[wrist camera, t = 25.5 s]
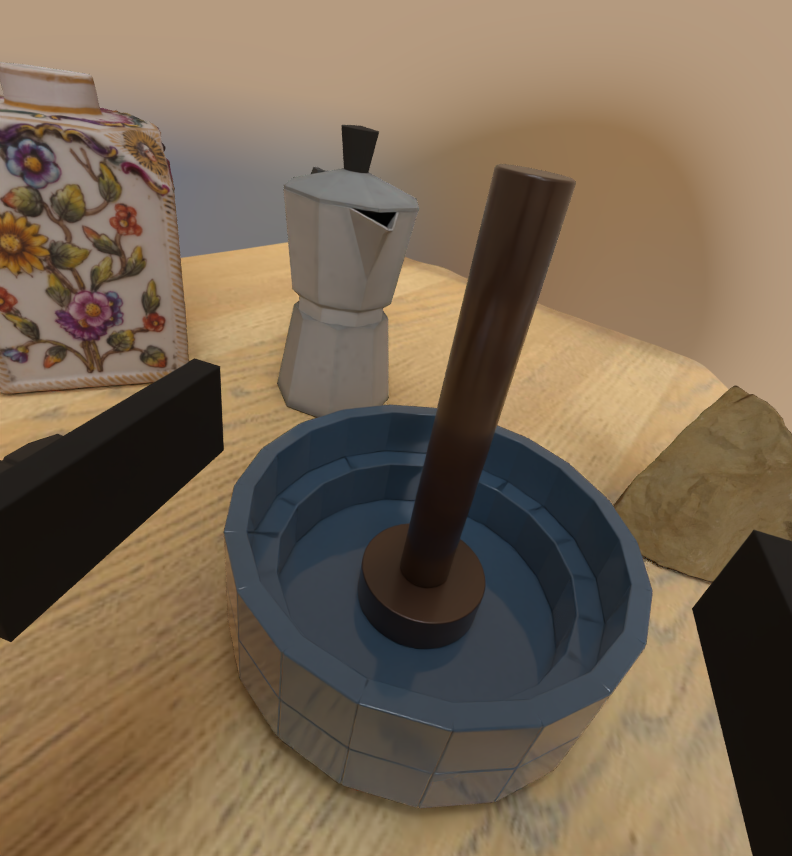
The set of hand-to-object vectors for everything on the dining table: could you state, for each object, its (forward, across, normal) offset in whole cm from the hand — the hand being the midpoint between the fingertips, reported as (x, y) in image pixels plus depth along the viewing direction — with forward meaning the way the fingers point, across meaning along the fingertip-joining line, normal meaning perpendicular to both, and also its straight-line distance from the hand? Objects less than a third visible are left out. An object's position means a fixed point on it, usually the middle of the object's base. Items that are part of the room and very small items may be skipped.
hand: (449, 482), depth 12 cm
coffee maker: (+23, -12, -12) cm, 29 cm away
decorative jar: (+17, -29, -12) cm, 36 cm away
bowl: (+6, 0, -12) cm, 13 cm away
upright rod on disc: (+6, 0, -11) cm, 12 cm away
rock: (+16, +15, -12) cm, 25 cm away
